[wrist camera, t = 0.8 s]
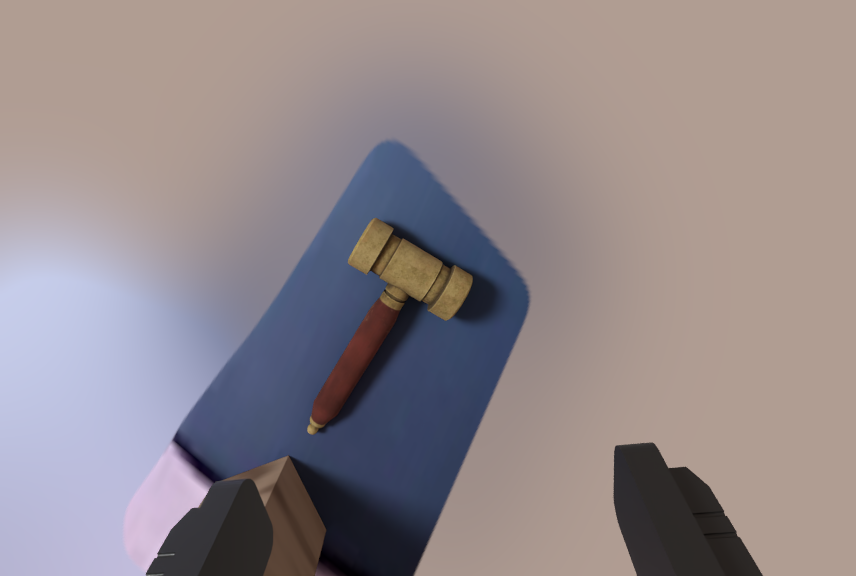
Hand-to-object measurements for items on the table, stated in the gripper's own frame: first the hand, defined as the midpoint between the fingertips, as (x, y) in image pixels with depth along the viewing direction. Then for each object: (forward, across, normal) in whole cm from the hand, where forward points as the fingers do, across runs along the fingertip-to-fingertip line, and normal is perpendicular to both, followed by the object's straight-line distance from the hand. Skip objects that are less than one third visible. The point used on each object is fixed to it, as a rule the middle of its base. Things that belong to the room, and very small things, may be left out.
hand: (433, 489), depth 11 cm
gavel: (+31, -9, -14) cm, 35 cm away
